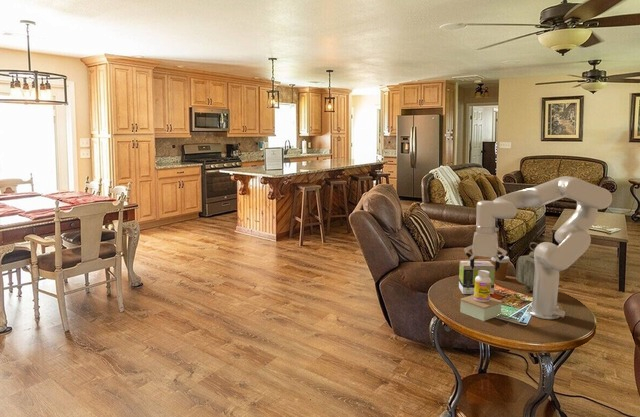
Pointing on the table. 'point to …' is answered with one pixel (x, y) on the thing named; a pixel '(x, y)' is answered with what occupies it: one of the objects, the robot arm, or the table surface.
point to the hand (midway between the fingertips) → (484, 269)
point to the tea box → (474, 275)
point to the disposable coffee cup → (501, 267)
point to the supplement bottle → (482, 286)
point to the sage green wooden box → (480, 308)
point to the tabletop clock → (526, 269)
